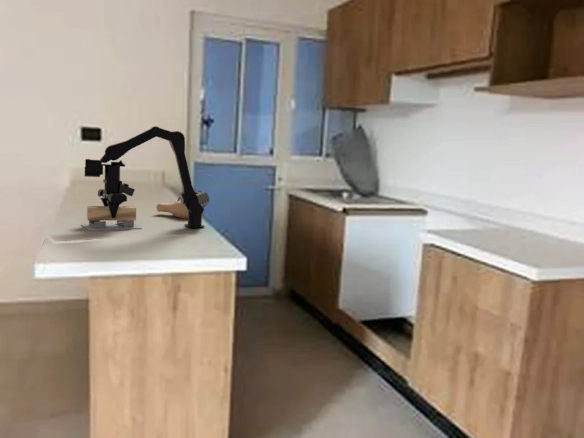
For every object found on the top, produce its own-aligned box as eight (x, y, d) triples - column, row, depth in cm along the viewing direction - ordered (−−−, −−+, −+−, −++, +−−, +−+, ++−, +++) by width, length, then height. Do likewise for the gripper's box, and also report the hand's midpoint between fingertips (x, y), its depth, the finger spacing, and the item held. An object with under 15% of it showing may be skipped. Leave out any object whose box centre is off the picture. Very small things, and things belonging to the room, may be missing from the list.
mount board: (141, 228, 217) (141, 221, 216) (89, 230, 205) (89, 223, 205) (131, 223, 227) (131, 216, 227) (81, 225, 216) (81, 217, 216)
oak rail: (136, 220, 218) (136, 207, 217) (87, 220, 210) (88, 207, 210) (134, 218, 222) (134, 205, 221) (87, 218, 214) (87, 205, 214)
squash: (192, 221, 243) (192, 201, 242) (151, 217, 248) (152, 197, 247) (202, 218, 253) (202, 199, 252) (163, 214, 258) (163, 195, 257)
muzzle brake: (209, 210, 283) (210, 190, 281) (194, 217, 255) (195, 195, 253) (191, 209, 283) (192, 189, 282) (174, 216, 256) (175, 194, 254)
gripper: (140, 180, 211) (139, 220, 213) (125, 175, 226) (124, 213, 228) (111, 179, 204) (110, 221, 207) (97, 175, 219) (97, 213, 222)
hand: (111, 217), depth 216 cm, fingers closed on oak rail, 5 cm apart
